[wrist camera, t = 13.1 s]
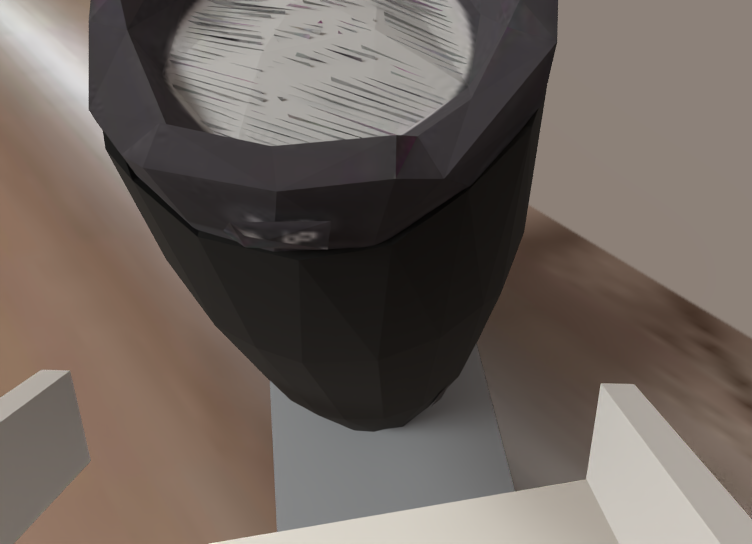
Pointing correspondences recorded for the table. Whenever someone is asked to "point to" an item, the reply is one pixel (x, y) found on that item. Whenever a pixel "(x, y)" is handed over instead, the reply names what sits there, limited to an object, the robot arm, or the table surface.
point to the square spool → (417, 480)
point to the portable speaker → (331, 176)
